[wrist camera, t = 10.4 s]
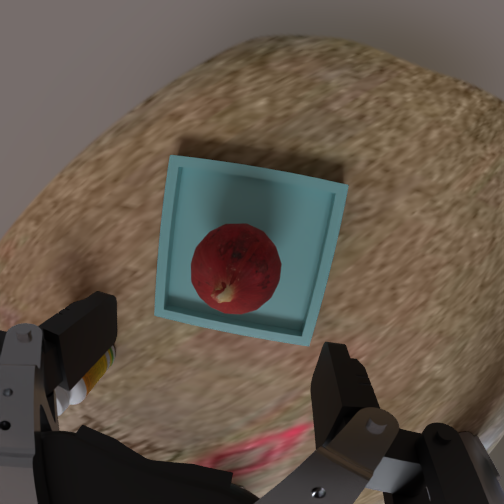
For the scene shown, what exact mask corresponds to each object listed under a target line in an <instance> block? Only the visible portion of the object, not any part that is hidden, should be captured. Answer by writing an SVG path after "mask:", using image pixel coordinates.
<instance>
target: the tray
mask: <svg viewBox="0 0 504 504" xmlns="http://www.w3.org/2000/svg"><path fill="white" fill-rule="evenodd" d="M348 186H349V185H346V184H342V183H337V182H333V181H328V180H324V179H319V178H314V177H309V176H304V175H299V174H294V173H289V172H284V171H278V170H273V169H267V168H261V167H256V166H249V165H243V164H237V163H230V162H223V161H216V160H209V159H201V158H193V157H185V156H176V155H170V158H169V165H168V172H167V179H166V186H165V194H164V202H163V210H162V219H161V229H160V239H159V250H158V262H157V276H156V293H155V315H154V316H158V317H162V318H166V319H170V320H174V321H178V322H183V323H187V324H191V325H196V326H200V327H205V328H210V329H214V330H219V331H224V332H229V333H234V334H239V335H244V336H250V337H255V338H261V339H266V340H272V341H278V342H284V343H290V344H297V345H303V346H309V345H310V341H311V338H312V335H313V331H314V328H315V324H316V321H317V317H318V314H319V310H320V307H321V303H322V299H323V295H324V292H325V288H326V284H327V280H328V276H329V272H330V268H331V264H332V260H333V256H334V252H335V247H336V243H337V239H338V234H339V230H340V225H341V220H342V216H343V211H344V206H345V201H346V196H347V191H348ZM242 223H247V224H249V225H251V226H253V227H256V228H258V229H260V230H262V231H264V232H265V233H266V235H267V236H268V237H269V238H270V240H271V241H272V242H273V243H274V244H275V246H276V248H277V251H278V254H279V257H280V260H281V263H282V266H281V275H280V281H279V284H278V286H277V288H276V290H275V292H274V294H273V296H272V297H271V298H270V299H269V300H268V301H267V302H266V303H265V304H263V305H262V306H261V307H260V308H259V309H257V310H254V311H251V312H248V313H245V314H225V313H223V312H220V311H218V310H216V309H213V308H211V307H210V306H209V305H208V304H207V303H205V302H204V301H203V300H202V299H201V298H200V297H199V295H198V294H197V292H196V290H195V288H194V286H193V285H192V282H191V261H192V258H193V255H194V251H195V248H196V246H197V245H198V244H199V243H200V242H201V241H202V240H203V238H204V237H205V236H206V235H207V234H208V233H209V232H210V231H212V230H214V229H216V228H218V227H220V226H222V225H224V224H242Z"/></svg>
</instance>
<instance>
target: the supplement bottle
mask: <svg viewBox="0 0 504 504" xmlns="http://www.w3.org/2000/svg"><path fill="white" fill-rule="evenodd" d="M114 359H115V349H114V346H112V347H111V348H110V349H109V350H108V351H107V352H106V353H105V354H104V355H103V356H102V357H101V358H100V359H99V360H98V361H97V362H96V364H95V365H94V366H93V367H92V368H91V369H90V370H89V371H88V372H87V373H86V374H85V375H84V376H83V377H82V379H81V380H80V381H79V382H78V383H77V384H76V385H75V386H74V387H73V388H72V389H71V390H70V391H68V390H65V389H63V388H61V387H59V386H57V387H56V388H55V392H56V400H57V413H58V416H59V415H61V414H62V413H63V412H64V411H65V410H66V409H67V407H68V405H69V404H78V403H80V402H81V401H82V400H83V399H84V398H85V397H86V396H87V395H88V393H89V392H90V391H91V389H92V388H93V387H94V386H95V384H96V383H97V382H98V381H99V379H100V378H101V377H102V376H103V375H104V373H105V372H106V371H107V370H108V369H109V367H110V366H111V365H112V363H113V362H114Z"/></svg>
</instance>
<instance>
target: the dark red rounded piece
mask: <svg viewBox="0 0 504 504" xmlns="http://www.w3.org/2000/svg"><path fill="white" fill-rule="evenodd" d="M281 266H282V263H281V260H280V257H279V254H278V251H277V248H276V246H275V244H274V243H273V242H272V241H271V240H270V238H269V237H268V236H267V235H266V233H265V232H264V231H262V230H260V229H258V228H256V227H253V226H251V225H249V224H247V223H242V224H224V225H222V226H220V227H218V228H216V229H214V230H212V231H210V232H209V233H208V234H207V235H206V236H205V237H204V238H203V240H202V241H201V242H200V243H199V244H198V245H197V246H196V248H195V251H194V255H193V258H192V261H191V282H192V285H193V286H194V288H195V290H196V292H197V294H198V295H199V297H200V298H201V299H202V300H203V301H204V302H205V303H207V304H208V305H209V306H210V307H211V308H213V309H216V310H218V311H220V312H223V313H225V314H245V313H248V312H251V311H254V310H257V309H259V308H260V307H261V306H262V305H263V304H265V303H266V302H267V301H268V300H269V299H270V298H271V297H272V296H273V294H274V292H275V290H276V288H277V286H278V284H279V281H280V275H281Z"/></svg>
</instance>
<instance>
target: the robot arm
mask: <svg viewBox="0 0 504 504" xmlns="http://www.w3.org/2000/svg"><path fill="white" fill-rule="evenodd" d="M116 337H117V300H116V297H115V296H113V295H110V294H107V293H103V292H100V291H96V292H95V293H93V294H92V295H90V296H89V297H87V298H86V299H83V300H80V301H77V302H73V303H72V304H70V305H69V306H67V307H66V308H65V309H63V310H61V311H60V312H59V314H58V313H57V314H55V315H54V316H52V317H51V318H49V319H48V320H47V321H45V322H44V323H42V324H41V325H39V326H36V325H33V324H27V323H24V324H18V325H15V326H13V327H11V328H10V329H9V330H8V331H7V332H5V331H0V504H353V503H354V502H355V500H356V499H357V498H358V496H359V495H360V493H361V492H362V491H363V489H364V488H369V489H373V490H378V491H383V495H384V502H385V504H504V492H503V490H502V488H501V486H500V484H499V482H498V481H499V480H500V475H499V473H498V471H497V469H496V467H495V465H494V464H493V462H492V460H491V458H490V457H489V455H488V453H487V451H486V449H485V448H484V446H483V444H482V443H481V441H480V439H479V438H478V436H473V435H472V433H470V432H461V433H458V432H457V431H456V430H455V429H453V428H452V427H450V426H449V425H446V424H443V423H432V424H429V425H428V426H426V428H425V429H424V431H423V432H422V434H421V433H416V432H412V431H407V430H403V429H400V428H399V424H398V421H397V420H396V418H395V417H394V416H393V415H392V414H390V413H389V412H387V411H385V410H383V409H380V407H379V404H378V401H377V398H376V396H375V393H374V390H373V388H372V386H371V382H370V380H369V378H368V375H367V372H366V369H365V367H364V366H363V365H362V364H361V363H360V362H359V361H358V360H357V359H353V358H350V356H349V353H348V350H347V347H346V345H345V344H339V343H332V342H325V343H324V345H323V347H322V350H321V353H320V356H319V359H318V362H317V365H316V368H315V371H314V374H313V377H312V381H311V400H312V410H313V420H314V431H315V443H316V450H315V451H314V452H313V453H312V454H311V455H310V456H309V457H308V458H307V459H306V460H305V461H304V462H303V463H302V464H301V465H300V466H298V467H297V468H296V469H295V470H294V471H293V472H292V473H291V474H289V475H288V476H287V477H286V478H285V479H284V480H283V481H281V482H280V483H279V484H278V485H277V486H275V487H274V488H273V489H272V490H271V491H269V492H268V493H267V494H266V495H264V496H263V497H262V498H258V497H257V496H256V495H254V494H252V493H251V492H249V491H247V490H245V489H243V488H241V487H240V486H237V485H235V484H232V483H231V480H232V475H233V473H232V472H227V471H222V470H217V469H212V468H208V467H203V466H199V465H195V464H187V463H174V462H164V461H155V460H149V459H147V458H145V457H143V456H141V455H140V454H138V453H136V452H135V451H133V450H131V449H130V448H128V447H127V446H125V445H124V444H122V443H121V442H119V441H118V440H116V439H114V438H112V437H110V436H107V435H105V434H102V433H100V432H98V431H96V430H93V429H91V428H89V427H87V426H85V425H82V426H81V427H80V428H79V430H78V431H77V432H76V433H74V432H67V431H59V423H58V413H57V400H56V392H55V388H56V387H57V386H59V387H61V388H63V389H65V390H68V391H70V390H71V389H72V388H73V387H74V386H75V385H76V384H77V383H78V382H79V381H80V380H81V379H82V377H83V376H84V375H85V374H86V373H87V372H88V371H89V370H90V369H91V368H92V367H93V366H94V365H95V364H96V362H97V361H98V360H99V359H100V358H101V357H102V356H103V355H104V354H105V353H106V352H107V351H108V350H109V349H110V348H111V347H112V346H113V344H114V342H115V340H116ZM429 498H430V499H429Z"/></svg>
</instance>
